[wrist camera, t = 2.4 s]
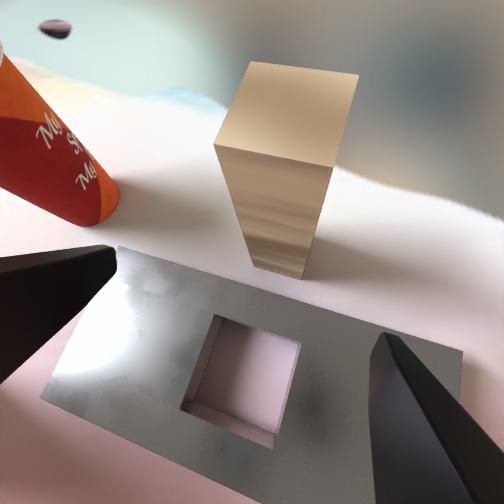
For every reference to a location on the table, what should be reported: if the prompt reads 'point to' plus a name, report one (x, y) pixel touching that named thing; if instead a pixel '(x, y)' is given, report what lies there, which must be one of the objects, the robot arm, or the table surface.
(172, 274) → the socket plate
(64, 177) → the paper cup
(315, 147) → the maple peg
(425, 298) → the table surface
